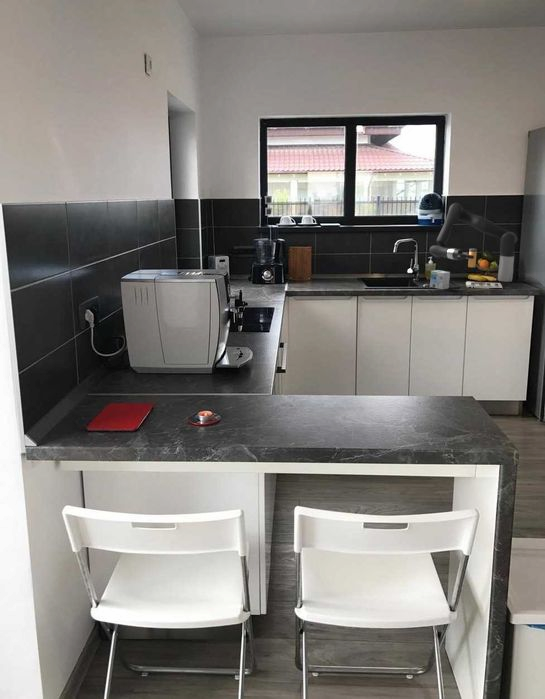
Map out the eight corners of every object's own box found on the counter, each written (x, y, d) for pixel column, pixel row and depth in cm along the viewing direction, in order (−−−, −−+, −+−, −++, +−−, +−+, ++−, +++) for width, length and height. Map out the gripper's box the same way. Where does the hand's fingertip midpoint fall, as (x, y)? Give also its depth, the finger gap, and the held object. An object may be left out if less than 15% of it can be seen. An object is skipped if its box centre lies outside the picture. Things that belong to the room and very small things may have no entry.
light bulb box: (429, 287, 447) (430, 270, 444) (436, 285, 451) (437, 269, 448) (442, 289, 439) (443, 272, 436) (449, 288, 443) (450, 272, 440)
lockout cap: (475, 266, 464) (476, 248, 460) (475, 267, 459) (477, 249, 456) (467, 266, 465) (469, 248, 461) (468, 267, 460) (469, 249, 457)
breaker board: (499, 285, 455) (500, 281, 455) (502, 289, 442) (502, 285, 442) (466, 283, 460) (466, 279, 459) (467, 287, 447) (467, 283, 446)
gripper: (449, 249, 466) (469, 252, 453) (462, 247, 474) (482, 250, 461) (448, 260, 468) (468, 263, 455) (461, 258, 476) (481, 261, 463)
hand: (475, 256), depth 458 cm, fingers closed on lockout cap, 4 cm apart
